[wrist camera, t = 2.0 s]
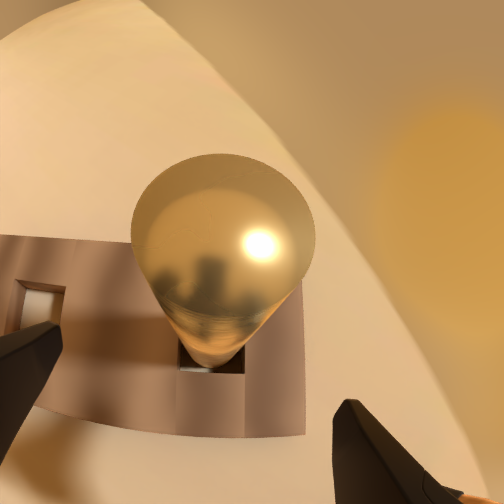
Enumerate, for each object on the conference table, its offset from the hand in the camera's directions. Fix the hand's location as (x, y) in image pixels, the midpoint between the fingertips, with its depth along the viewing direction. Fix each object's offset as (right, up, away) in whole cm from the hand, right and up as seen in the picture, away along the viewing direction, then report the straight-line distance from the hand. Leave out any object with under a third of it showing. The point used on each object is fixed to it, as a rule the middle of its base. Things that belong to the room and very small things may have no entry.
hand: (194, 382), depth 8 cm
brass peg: (-1, -2, +11) cm, 11 cm away
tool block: (-7, -2, +10) cm, 13 cm away
